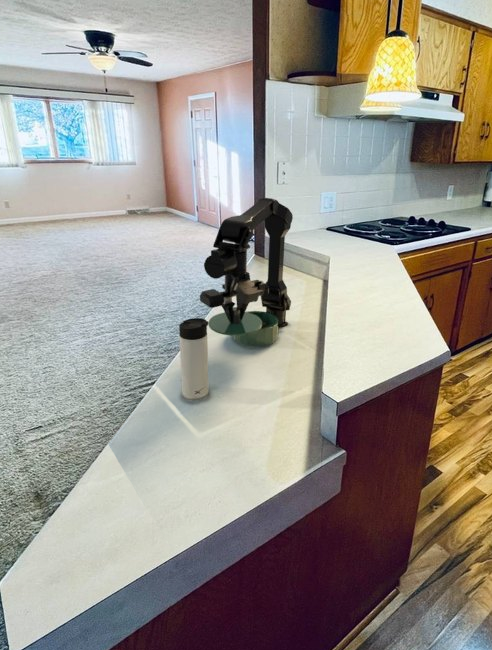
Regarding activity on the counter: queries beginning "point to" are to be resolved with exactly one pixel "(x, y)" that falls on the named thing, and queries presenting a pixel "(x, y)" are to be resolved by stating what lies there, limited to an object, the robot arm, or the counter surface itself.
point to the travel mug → (194, 358)
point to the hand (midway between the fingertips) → (235, 321)
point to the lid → (235, 323)
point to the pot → (261, 331)
